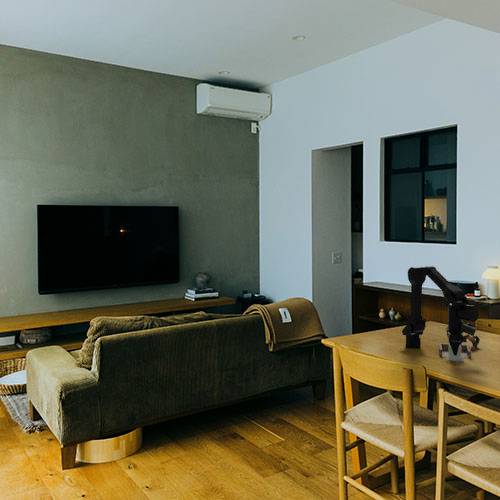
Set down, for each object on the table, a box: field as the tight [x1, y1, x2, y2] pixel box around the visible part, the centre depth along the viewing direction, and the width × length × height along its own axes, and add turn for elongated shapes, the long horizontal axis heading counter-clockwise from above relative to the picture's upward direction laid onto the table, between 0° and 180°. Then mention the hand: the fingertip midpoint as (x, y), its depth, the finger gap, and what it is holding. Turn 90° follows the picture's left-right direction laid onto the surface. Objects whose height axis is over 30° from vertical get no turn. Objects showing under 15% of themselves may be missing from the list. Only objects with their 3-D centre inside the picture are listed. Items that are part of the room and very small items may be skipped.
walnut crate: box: [438, 342, 472, 359], centre depth 238 cm, size 13×13×3 cm
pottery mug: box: [460, 333, 480, 352], centre depth 249 cm, size 12×10×8 cm
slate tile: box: [445, 356, 465, 363], centre depth 228 cm, size 7×7×1 cm
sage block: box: [448, 343, 461, 361], centre depth 228 cm, size 5×5×6 cm
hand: (454, 352), depth 228 cm, fingers open, 9 cm apart
